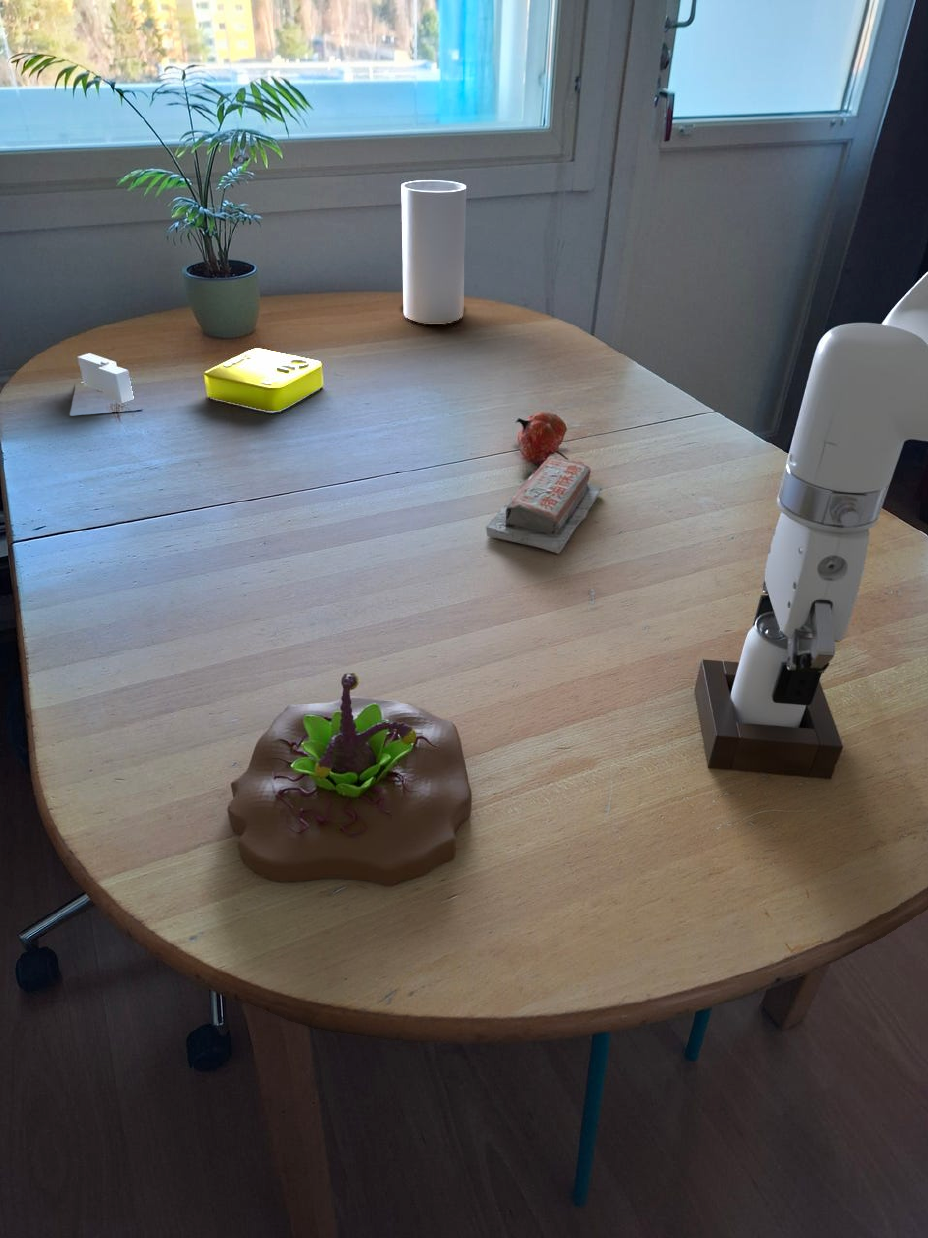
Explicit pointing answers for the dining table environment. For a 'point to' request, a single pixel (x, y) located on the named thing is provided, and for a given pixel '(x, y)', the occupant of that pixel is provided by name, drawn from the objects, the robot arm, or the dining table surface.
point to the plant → (351, 792)
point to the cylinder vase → (433, 250)
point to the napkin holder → (106, 377)
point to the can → (765, 675)
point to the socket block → (763, 732)
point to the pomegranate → (540, 436)
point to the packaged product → (547, 506)
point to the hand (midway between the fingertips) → (779, 665)
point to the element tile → (264, 379)
